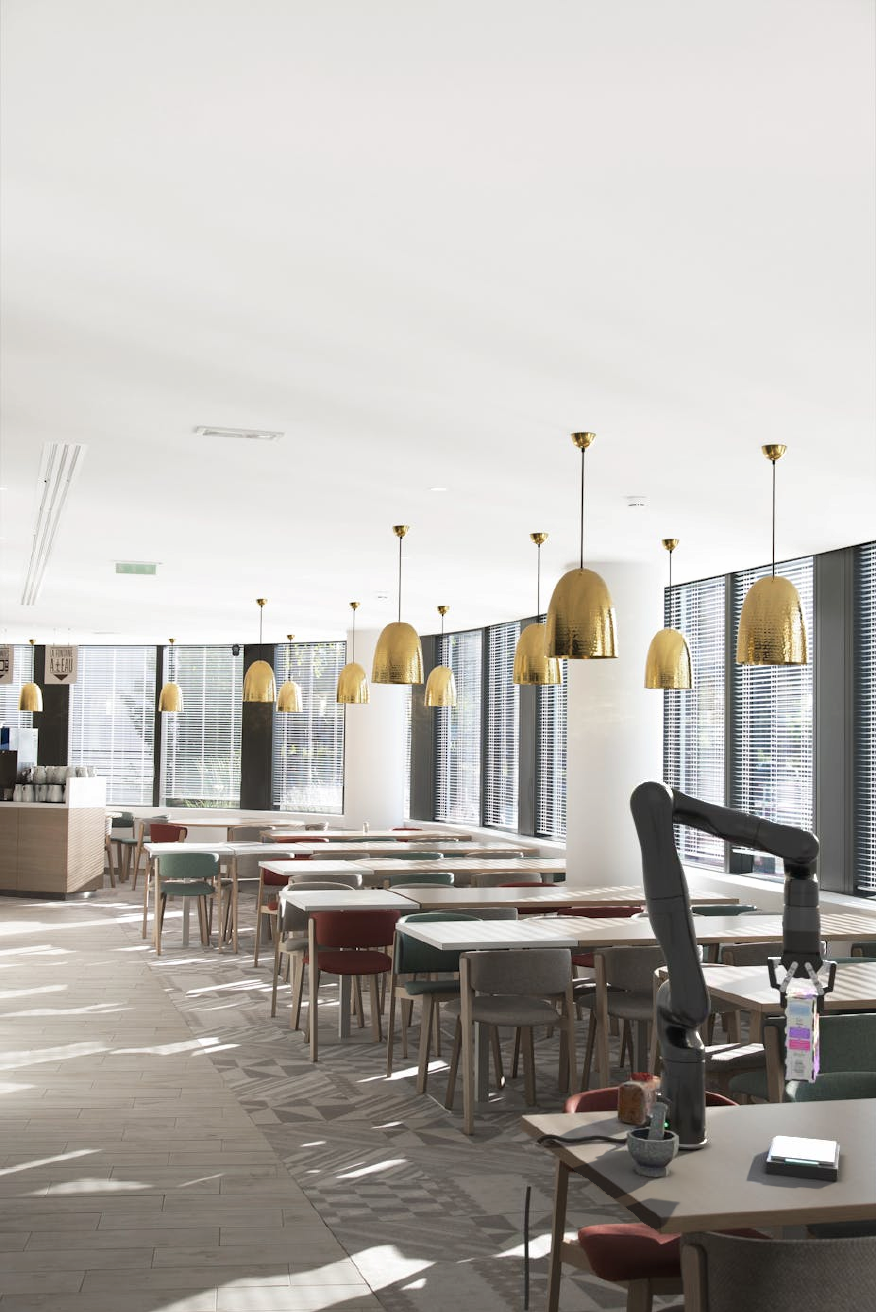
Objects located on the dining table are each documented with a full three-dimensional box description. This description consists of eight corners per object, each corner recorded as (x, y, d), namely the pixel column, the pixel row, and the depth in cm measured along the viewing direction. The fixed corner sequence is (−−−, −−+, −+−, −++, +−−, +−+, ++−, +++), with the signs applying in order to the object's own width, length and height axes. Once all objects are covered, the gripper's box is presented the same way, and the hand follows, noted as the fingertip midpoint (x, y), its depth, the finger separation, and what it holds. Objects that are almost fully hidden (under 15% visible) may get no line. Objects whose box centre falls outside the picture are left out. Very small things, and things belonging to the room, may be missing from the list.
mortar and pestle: (669, 1182, 234) (669, 1115, 235) (620, 1174, 238) (621, 1109, 239) (685, 1167, 244) (685, 1103, 245) (638, 1159, 248) (639, 1097, 249)
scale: (837, 1181, 237) (837, 1165, 237) (766, 1173, 241) (766, 1158, 241) (839, 1155, 254) (839, 1141, 254) (773, 1148, 258) (773, 1134, 258)
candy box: (814, 1084, 247) (814, 998, 248) (783, 1081, 249) (783, 995, 250) (820, 1070, 259) (819, 988, 261) (790, 1067, 262) (790, 986, 263)
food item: (637, 1109, 288) (637, 1064, 289) (670, 1114, 284) (670, 1069, 285) (614, 1121, 277) (614, 1075, 278) (648, 1127, 272) (648, 1080, 274)
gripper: (838, 928, 258) (839, 1011, 257) (766, 924, 263) (766, 1006, 261) (838, 931, 251) (839, 1017, 250) (763, 927, 256) (764, 1012, 254)
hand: (802, 1011), depth 255 cm, fingers closed on candy box, 6 cm apart
